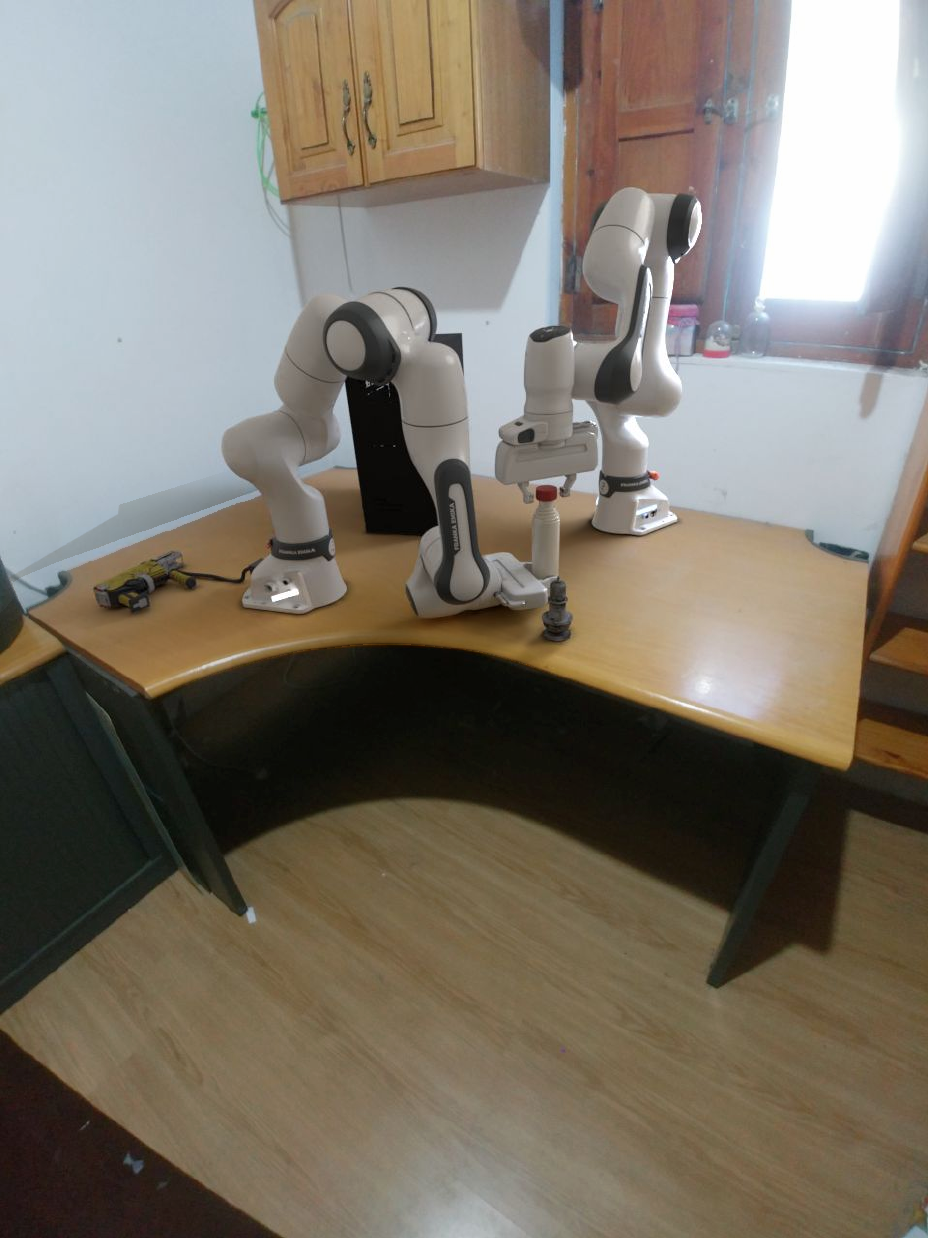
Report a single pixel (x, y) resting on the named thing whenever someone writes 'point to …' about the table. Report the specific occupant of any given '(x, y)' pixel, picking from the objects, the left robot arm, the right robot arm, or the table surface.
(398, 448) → the black tall box
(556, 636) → the grey stepped cylinder
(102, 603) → the toy gun
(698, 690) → the table surface
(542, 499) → the cap
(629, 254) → the right robot arm
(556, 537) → the bottle
